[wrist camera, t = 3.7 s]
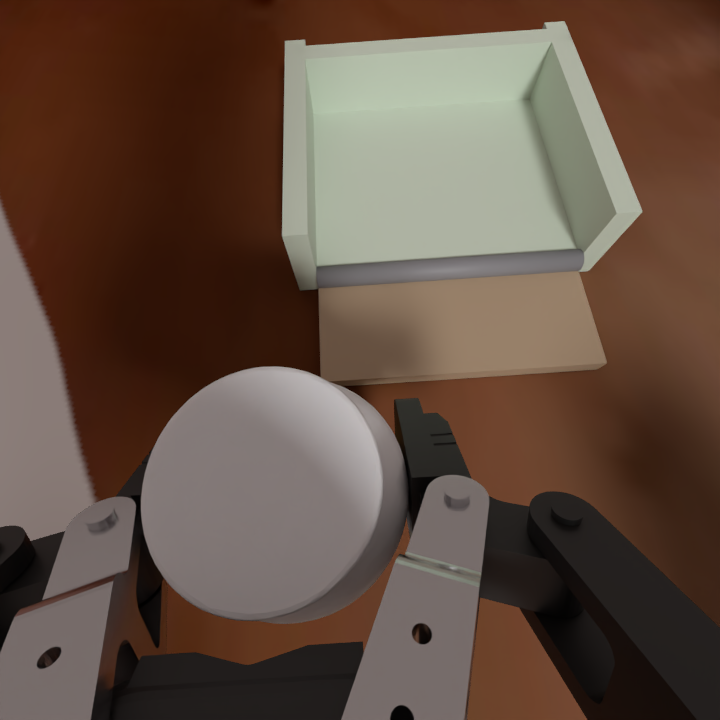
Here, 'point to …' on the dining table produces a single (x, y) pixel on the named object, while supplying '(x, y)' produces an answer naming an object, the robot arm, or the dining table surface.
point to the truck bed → (449, 203)
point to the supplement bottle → (274, 497)
